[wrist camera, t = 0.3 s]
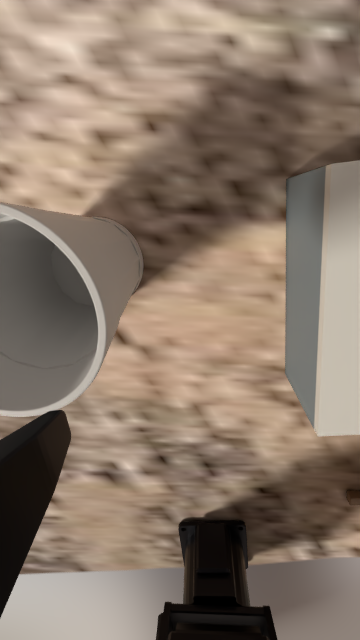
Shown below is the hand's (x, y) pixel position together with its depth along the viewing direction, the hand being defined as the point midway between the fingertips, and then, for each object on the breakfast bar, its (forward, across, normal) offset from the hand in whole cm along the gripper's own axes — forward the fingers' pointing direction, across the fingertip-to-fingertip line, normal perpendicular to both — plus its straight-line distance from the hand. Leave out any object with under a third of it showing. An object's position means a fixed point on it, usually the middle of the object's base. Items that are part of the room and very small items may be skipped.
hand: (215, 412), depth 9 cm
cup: (+14, +7, -3) cm, 16 cm away
